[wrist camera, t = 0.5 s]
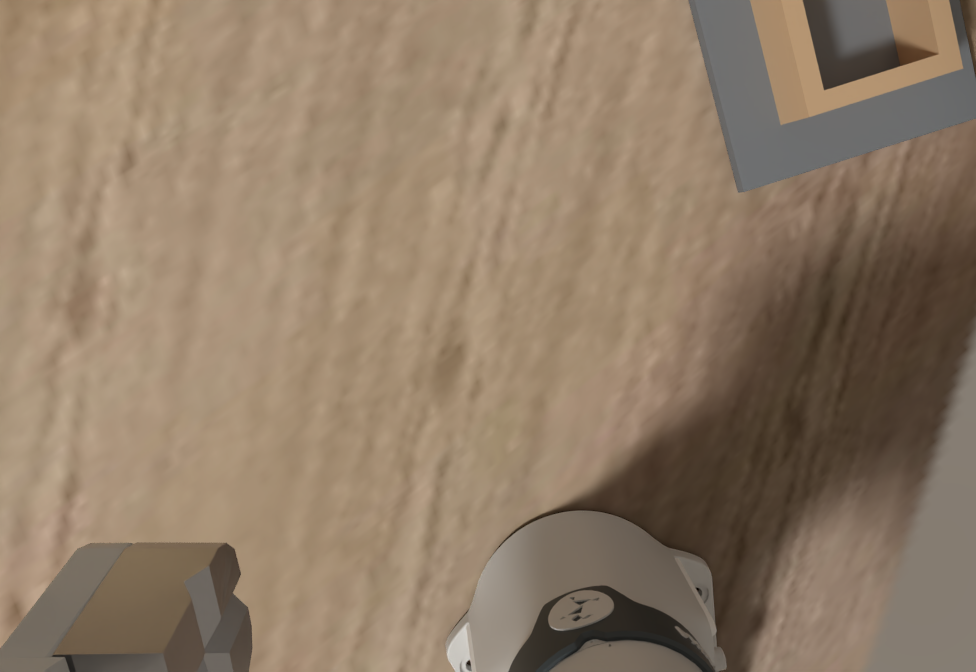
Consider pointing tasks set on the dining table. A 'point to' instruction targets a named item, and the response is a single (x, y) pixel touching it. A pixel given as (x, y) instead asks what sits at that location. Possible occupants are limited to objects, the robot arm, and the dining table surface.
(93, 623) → the robot arm
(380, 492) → the dining table surface
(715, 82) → the collar stand
